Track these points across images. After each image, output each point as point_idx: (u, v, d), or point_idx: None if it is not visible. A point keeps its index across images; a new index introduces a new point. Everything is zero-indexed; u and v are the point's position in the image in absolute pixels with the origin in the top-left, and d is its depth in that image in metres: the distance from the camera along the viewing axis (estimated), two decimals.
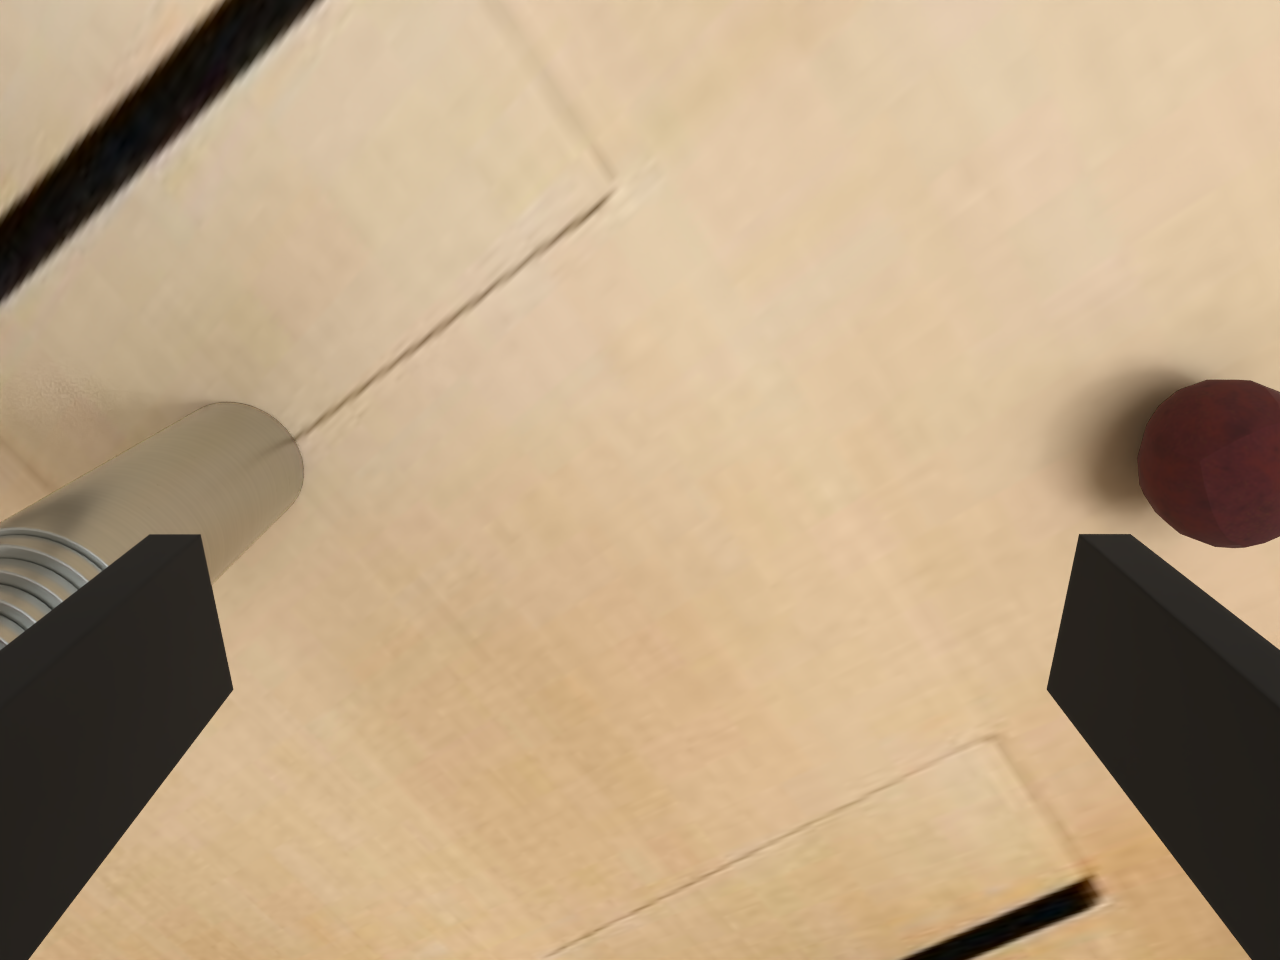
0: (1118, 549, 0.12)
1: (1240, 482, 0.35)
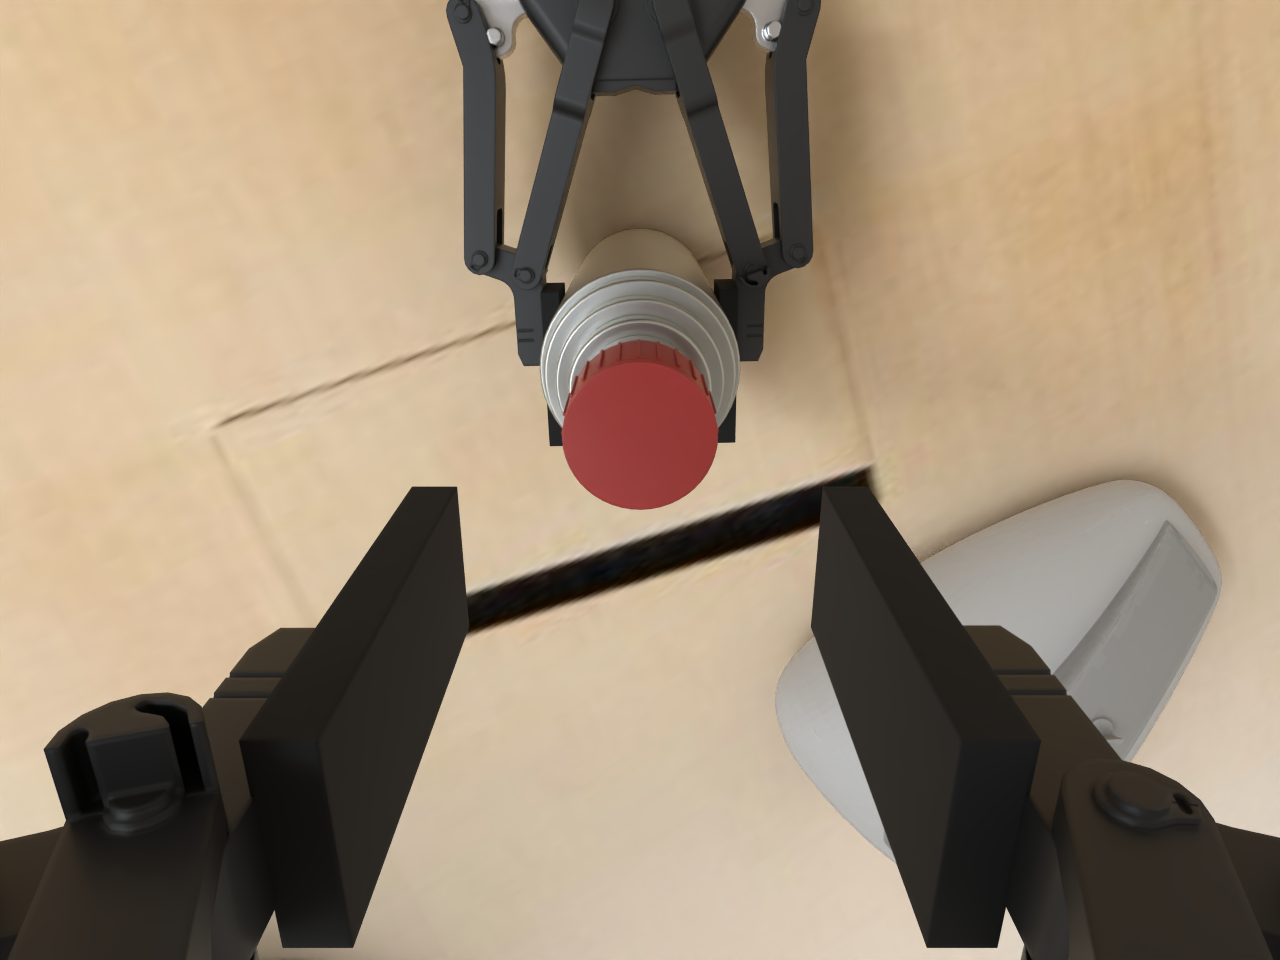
0: (848, 498, 0.14)
1: None
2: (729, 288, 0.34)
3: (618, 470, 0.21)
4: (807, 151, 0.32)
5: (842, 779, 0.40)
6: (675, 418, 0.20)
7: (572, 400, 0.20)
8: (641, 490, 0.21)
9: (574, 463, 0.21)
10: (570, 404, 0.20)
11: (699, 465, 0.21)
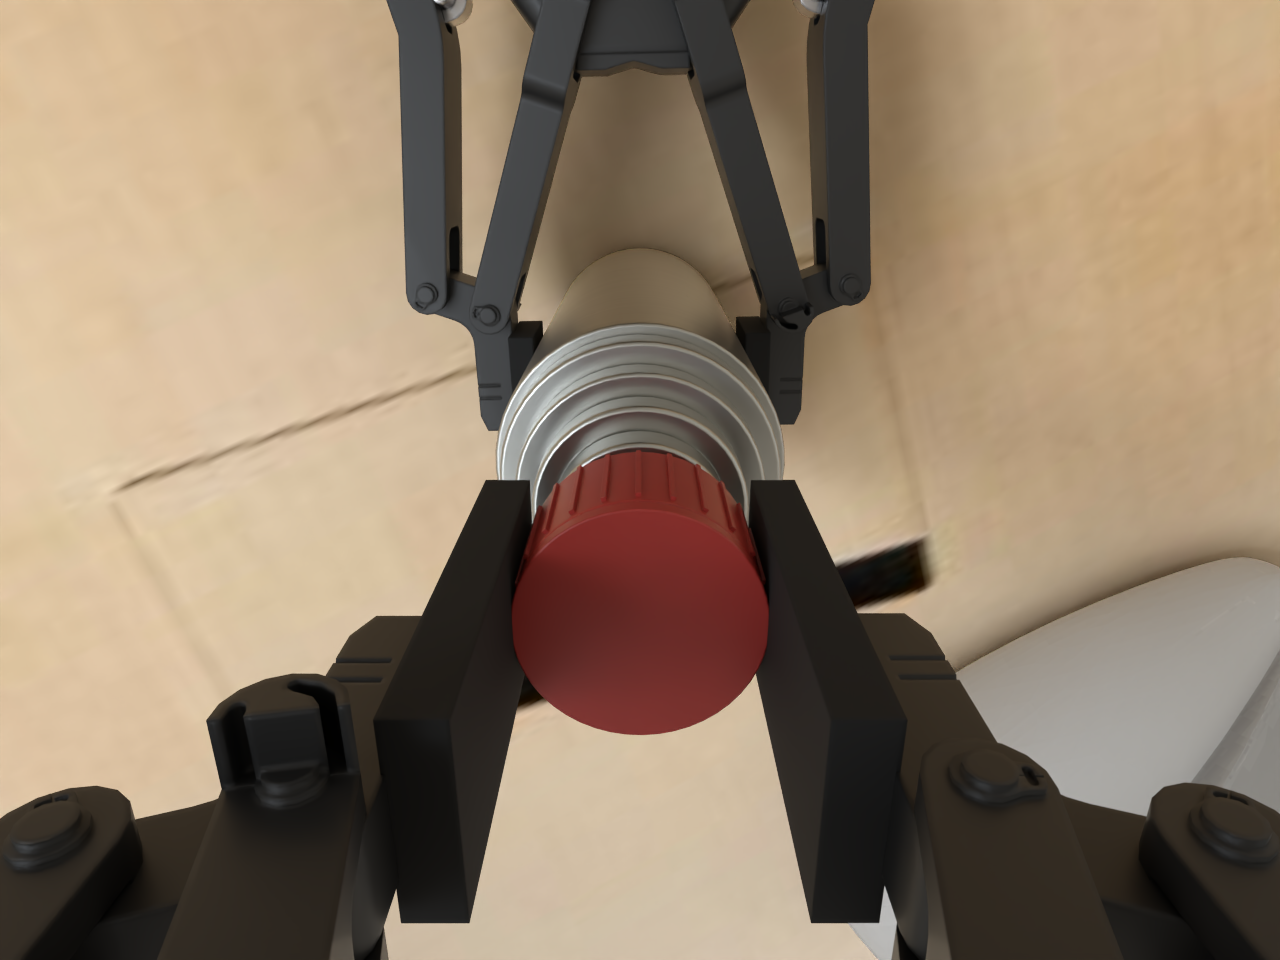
0: (773, 491, 0.14)
1: None
2: (758, 332, 0.25)
3: (604, 677, 0.13)
4: (866, 150, 0.24)
5: None
6: (700, 598, 0.12)
7: (526, 569, 0.12)
8: (642, 707, 0.13)
9: (532, 666, 0.13)
10: (523, 576, 0.12)
11: (738, 670, 0.13)
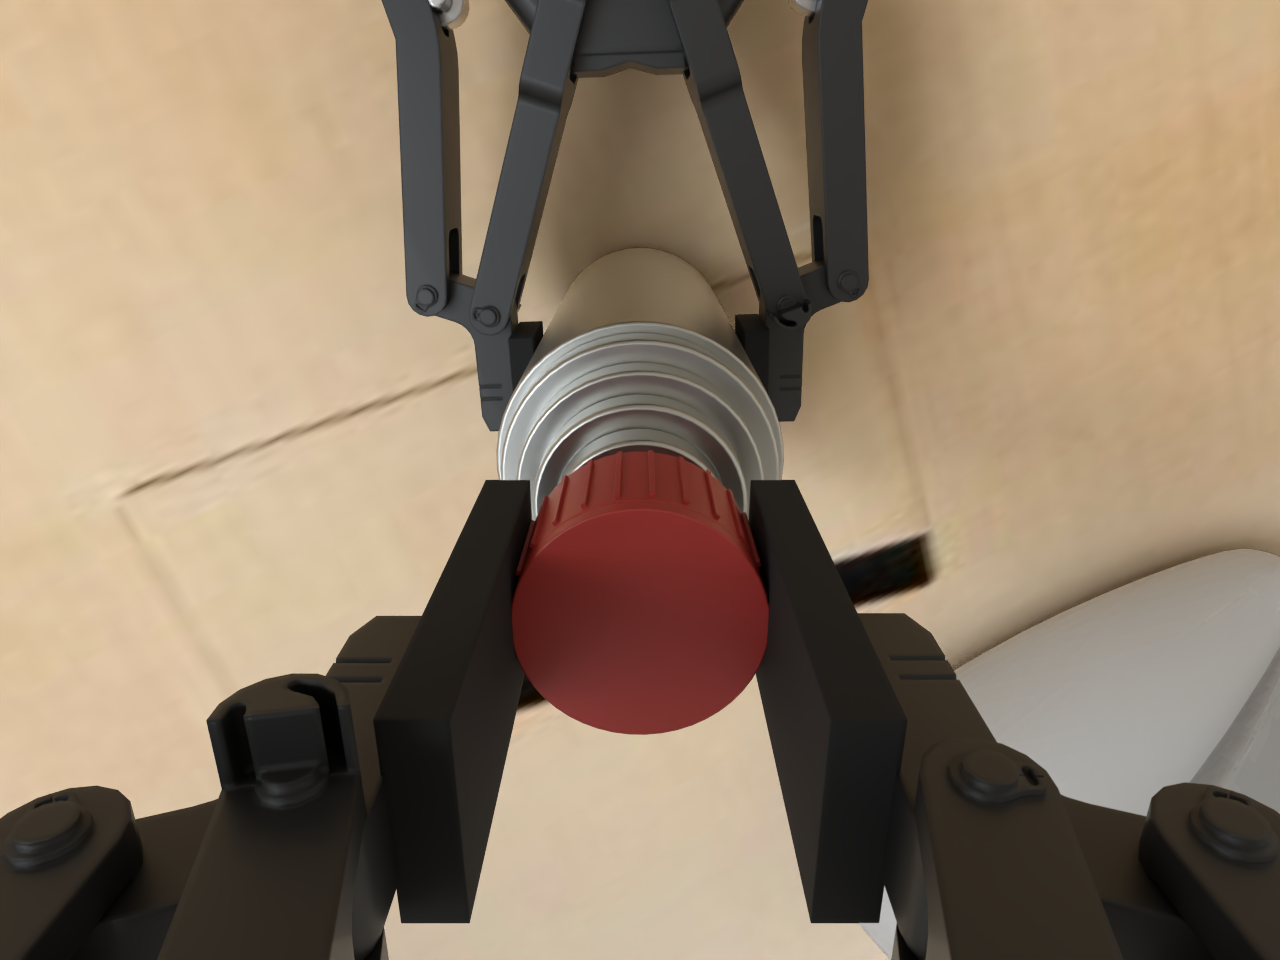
0: (773, 491, 0.14)
1: None
2: (757, 329, 0.26)
3: (707, 621, 0.12)
4: (862, 147, 0.24)
5: None
6: (575, 607, 0.12)
7: (658, 731, 0.13)
8: (712, 574, 0.12)
9: (742, 675, 0.13)
10: (665, 731, 0.13)
11: (612, 530, 0.12)
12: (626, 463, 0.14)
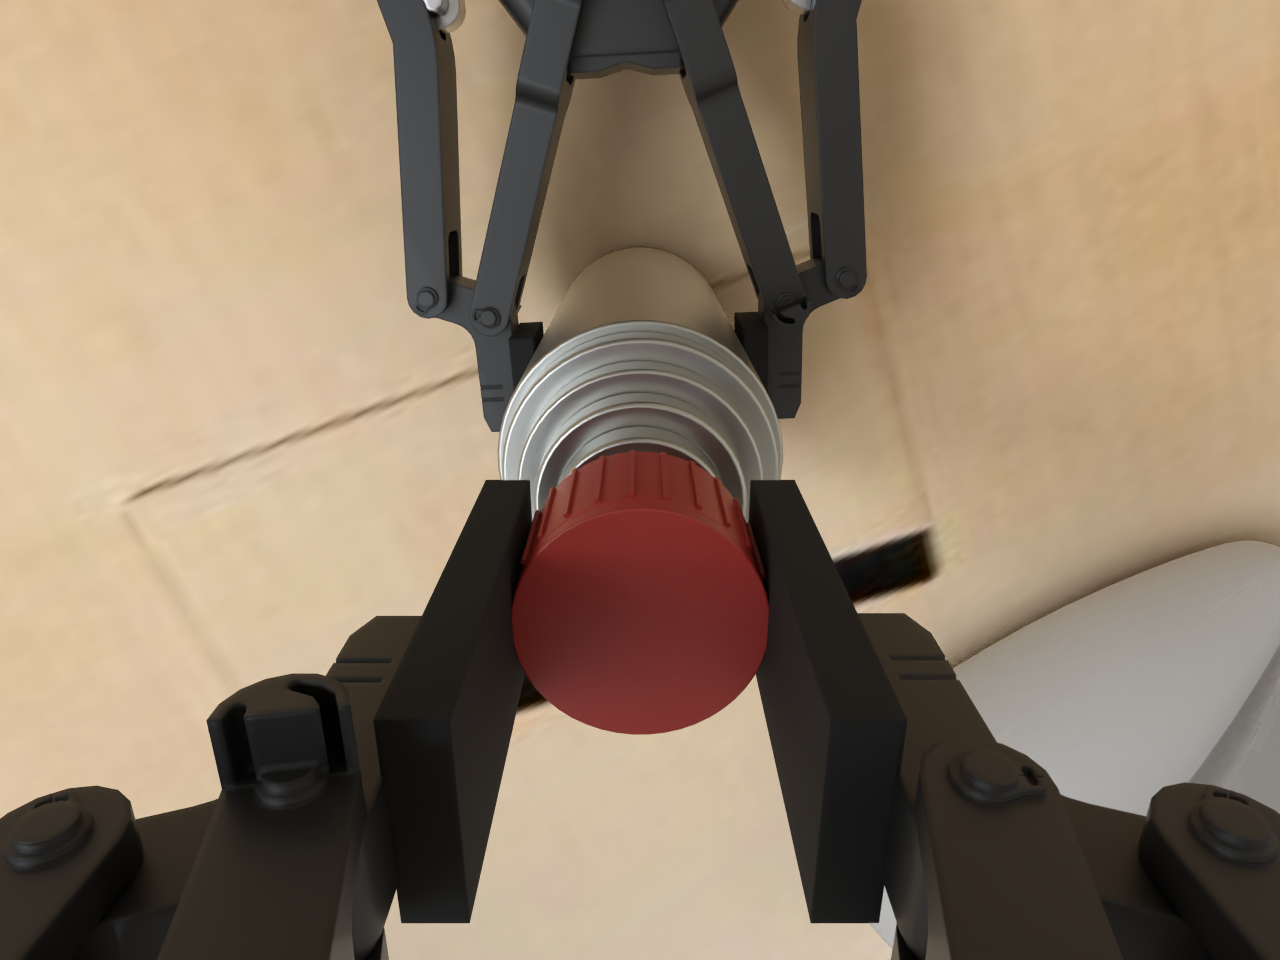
0: (773, 491, 0.14)
1: None
2: (756, 327, 0.26)
3: (590, 586, 0.12)
4: (858, 144, 0.24)
5: None
6: (661, 683, 0.13)
7: (730, 541, 0.12)
8: (547, 614, 0.12)
9: (617, 519, 0.12)
10: (725, 538, 0.12)
11: (575, 702, 0.13)
12: None
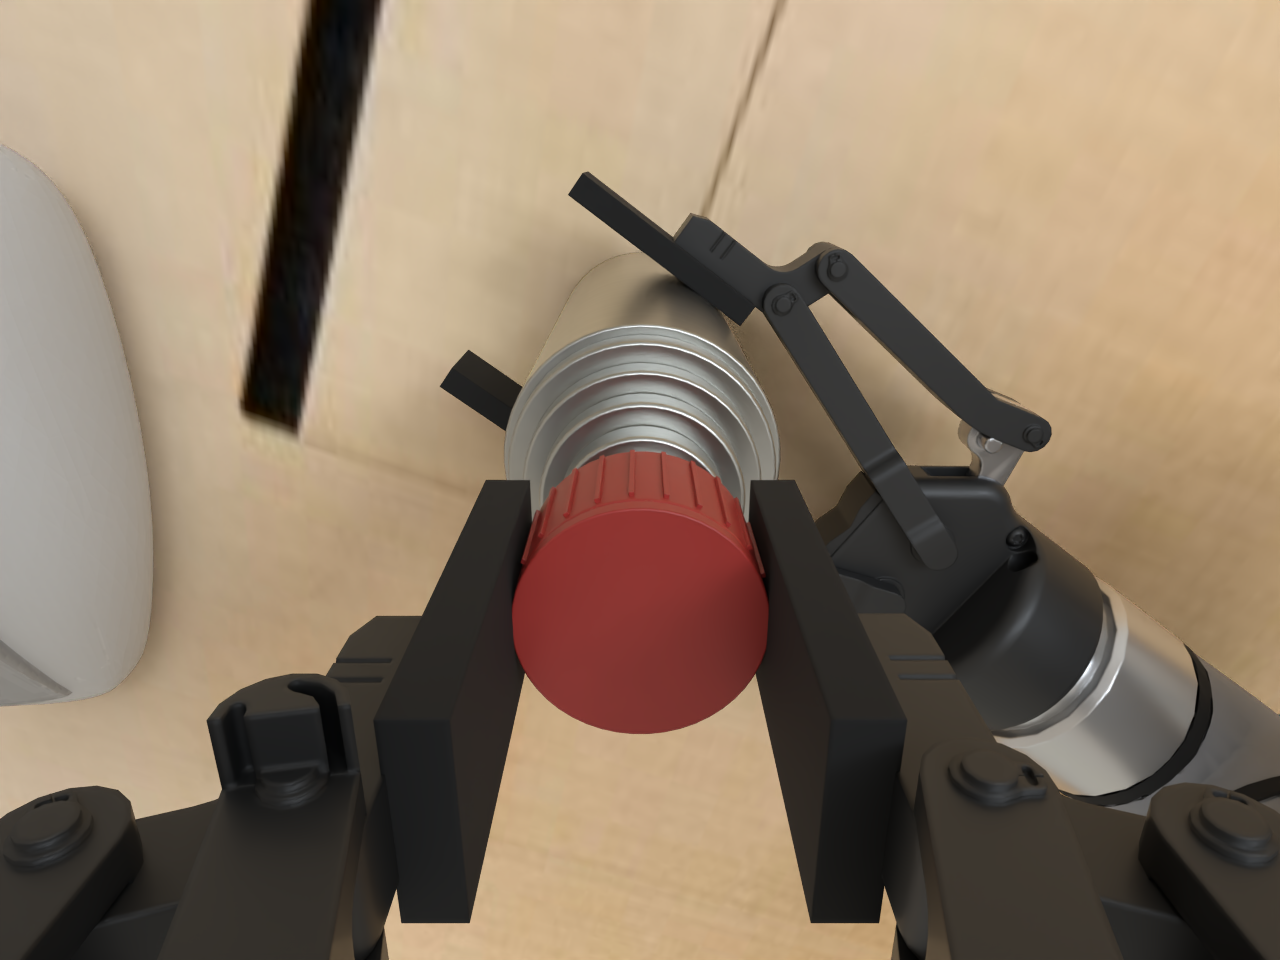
0: (773, 491, 0.14)
1: None
2: None
3: (590, 585, 0.12)
4: None
5: None
6: (661, 682, 0.13)
7: (730, 541, 0.12)
8: (547, 613, 0.12)
9: (617, 519, 0.12)
10: (725, 537, 0.12)
11: (575, 702, 0.13)
12: None
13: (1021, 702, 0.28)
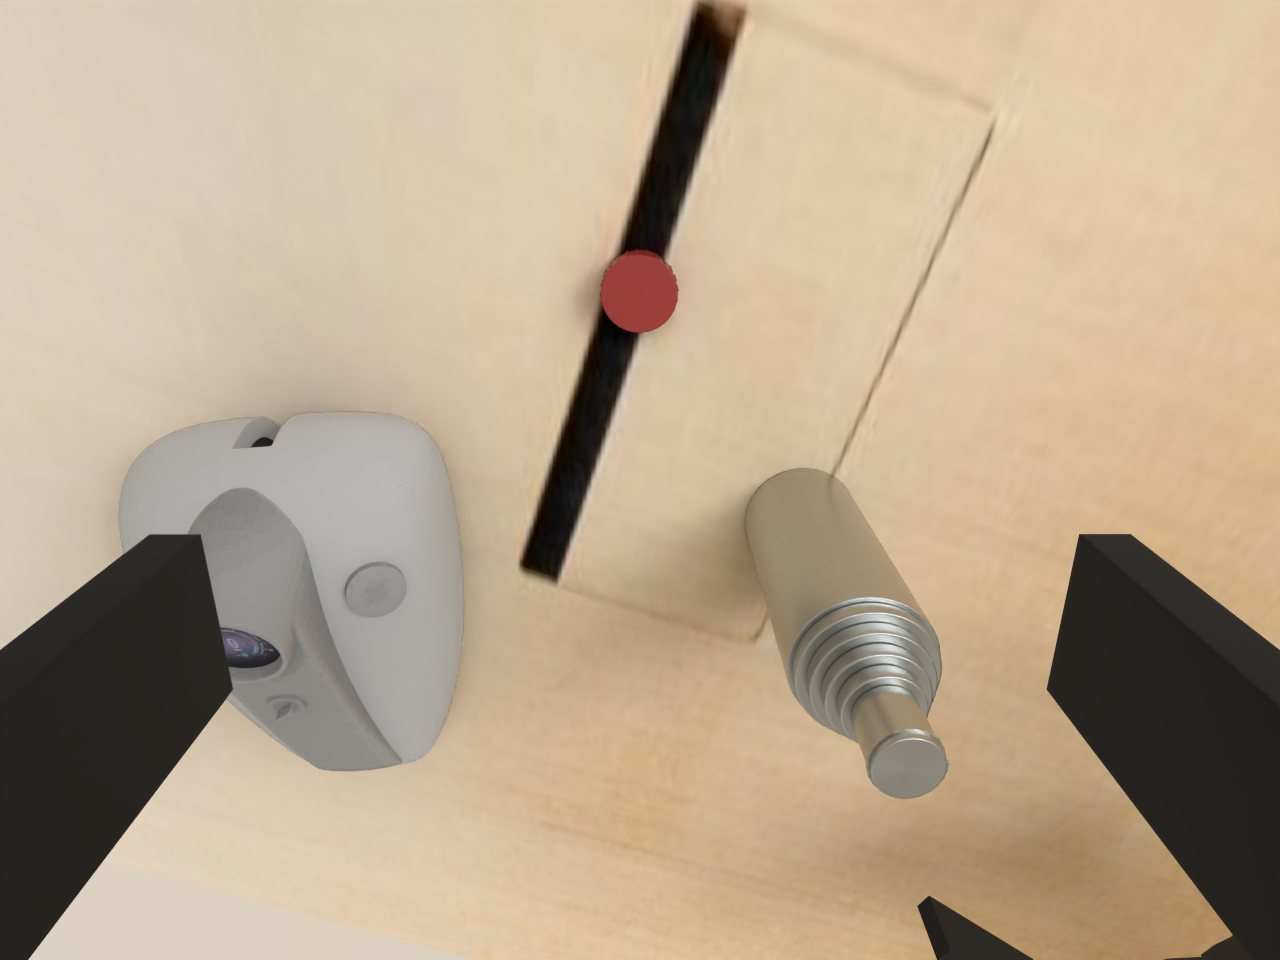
0: (1118, 549, 0.12)
1: None
2: None
3: (624, 280, 0.42)
4: None
5: (345, 491, 0.39)
6: (645, 313, 0.42)
7: (665, 265, 0.42)
8: (612, 289, 0.42)
9: (632, 258, 0.41)
10: (663, 264, 0.41)
11: (619, 320, 0.42)
12: None
13: None
